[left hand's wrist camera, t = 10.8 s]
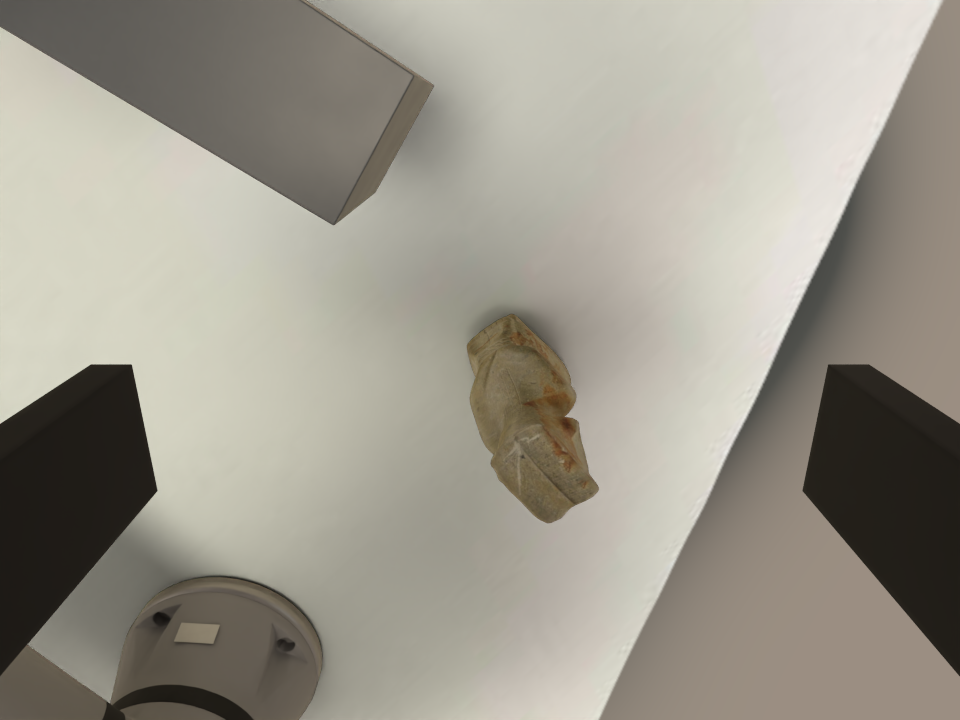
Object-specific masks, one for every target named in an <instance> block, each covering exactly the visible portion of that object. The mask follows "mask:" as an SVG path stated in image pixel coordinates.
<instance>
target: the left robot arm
mask: <svg viewBox="0 0 960 720" xmlns="http://www.w3.org/2000/svg"><path fill="white" fill-rule="evenodd" d="M156 492H157V486H156V481H155V476H154V471H153V467H152V462H151V457H150V452H149V447H148V442H147V437H146V432H145V427H144V422H143V418H142V413H141V408H140V403H139V398H138V393H137V388H136V383H135V378H134V373H133V368H132V365H90V366H88V367H87V368H85V369H84V370H82V371H80V372H79V373H77V374H76V375H74V376H73V377H71V378H70V379H68V380H67V381H65V382H64V383H62V384H61V385H59V386H58V387H56V388H54V389H53V390H51V391H50V392H48V393H47V394H45V395H44V396H42V397H41V398H39V399H38V400H36V401H35V402H33V403H31V404H30V405H28V406H27V407H25V408H24V409H22V410H21V411H19V412H18V413H16V414H15V415H13V416H12V417H10V418H9V419H7V420H5V421H4V422H2V423H1V424H0V720H299V719H300V717H301V716H302V714H303V713H304V712H305V710H306V709H307V707H308V705H309V703H310V702H311V700H312V698H313V696H314V693H315V690H316V687H317V683H318V680H319V676H320V673H321V667H322V651H321V646H320V643H319V640H318V637H317V635H316V633H315V630H314V629H313V627H312V625H311V624H310V622H309V621H308V620H307V618H306V617H305V616H304V615H303V614H302V613H301V612H300V610H299V609H297V608H296V607H295V606H294V605H293V604H292V603H290V602H289V601H288V600H286V599H285V598H283V597H282V596H280V595H279V594H277V593H275V592H273V591H271V590H269V589H267V588H265V587H262V586H260V585H257V584H254V583H251V582H248V581H244V580H239V579H233V578H224V577H206V578H197V579H191V580H187V581H183V582H180V583H178V584H175V585H173V586H170V587H168V588H166V589H165V590H163V591H161V592H160V593H159V594H157V595H156V596H154V597H153V598H152V599H151V600H150V601H149V602H148V603H147V604H146V606H145V607H144V608H143V610H142V611H141V613H140V614H139V616H138V617H137V618H136V620H135V621H134V623H133V625H132V626H131V628H130V630H129V632H128V634H127V637H126V640H125V642H124V645H123V649H122V654H121V658H120V662H119V667H118V671H117V676H116V680H115V684H114V689H113V693H112V698H111V702H110V703H108V702H107V701H106V700H104V699H103V698H101V697H100V696H99V695H97V694H96V693H94V692H93V691H91V690H90V689H88V688H87V687H86V686H84V685H83V684H81V683H80V682H78V681H77V680H76V679H74V678H73V677H71V676H70V675H69V674H67V673H66V672H64V671H63V670H62V669H60V668H59V667H57V666H56V665H55V664H53V663H52V662H50V661H49V660H48V659H46V658H45V657H43V656H42V655H41V654H39V653H38V652H36V651H35V650H34V649H32V648H31V647H29V646H28V645H27V644H28V643H29V642H30V641H31V639H32V638H33V637H34V636H35V635H36V633H37V632H38V631H39V630H40V629H41V628H42V626H43V625H44V624H45V623H46V622H47V621H48V619H49V618H50V617H51V616H52V615H53V613H54V612H55V611H56V610H57V609H58V608H59V606H60V605H61V604H62V603H63V602H64V600H65V599H66V598H67V597H68V596H69V595H70V593H71V592H72V591H73V590H74V589H75V587H76V586H77V585H78V584H79V583H80V582H81V580H82V579H83V578H84V577H85V576H86V575H87V573H88V572H89V571H90V570H91V569H92V567H93V566H94V565H95V564H96V563H97V562H98V560H99V559H100V558H101V557H102V556H103V554H104V553H105V552H106V551H107V550H108V549H109V547H110V546H111V545H112V544H113V543H114V542H115V540H116V539H117V538H118V537H119V536H120V534H121V533H122V532H123V531H124V530H125V529H126V527H127V526H128V525H129V524H130V523H131V521H132V520H133V519H134V518H135V517H136V516H137V514H138V513H139V512H140V511H141V510H142V508H143V507H144V506H145V505H146V504H147V503H148V501H149V500H150V499H151V498H152V497H153V496H154V494H155V493H156ZM803 492H804V493H805V494H806V496H807V497H808V498H809V499H810V500H811V501H812V503H813V504H814V505H815V506H816V507H817V508H818V510H819V511H820V512H821V513H822V514H823V516H824V517H825V518H826V519H827V520H828V521H829V523H830V524H831V525H832V526H833V527H834V529H835V530H836V531H837V532H838V533H839V534H840V536H841V537H842V538H843V539H844V540H845V542H846V543H847V544H848V545H849V546H850V547H851V549H852V550H853V551H854V552H855V553H856V554H857V556H858V557H859V558H860V559H861V560H862V562H863V563H864V564H865V565H866V566H867V567H868V569H869V570H870V571H871V572H872V573H873V574H874V576H875V577H876V578H877V579H878V580H879V582H880V583H881V584H882V585H883V586H884V587H885V589H886V590H887V591H888V592H889V593H890V595H891V596H892V597H893V598H894V599H895V600H896V602H897V603H898V604H899V605H900V606H901V608H902V609H903V610H904V611H905V612H906V613H907V615H908V616H909V617H910V618H911V619H912V620H913V622H914V623H915V624H916V625H917V626H918V628H919V629H920V630H921V631H922V632H923V633H924V635H925V636H926V637H927V638H928V639H929V641H930V642H931V643H932V644H933V645H934V646H935V648H936V649H937V650H938V651H939V652H940V654H941V655H942V656H943V657H944V658H945V659H946V661H947V662H948V663H949V664H950V665H951V666H952V668H953V669H954V670H955V671H956V672H957V674H958V675H959V676H960V424H959V423H958V422H956V421H955V420H953V419H951V418H950V417H948V416H947V415H945V414H944V413H942V412H941V411H939V410H938V409H936V408H935V407H933V406H932V405H930V404H929V403H927V402H925V401H924V400H922V399H921V398H919V397H918V396H916V395H915V394H913V393H912V392H910V391H909V390H907V389H906V388H904V387H902V386H901V385H899V384H898V383H896V382H895V381H893V380H892V379H890V378H889V377H887V376H886V375H884V374H883V373H881V372H880V371H878V370H876V369H875V368H873V367H872V366H870V365H828V368H827V373H826V378H825V383H824V388H823V393H822V398H821V403H820V408H819V413H818V418H817V422H816V427H815V432H814V437H813V442H812V447H811V452H810V457H809V462H808V467H807V471H806V476H805V481H804V486H803Z"/></svg>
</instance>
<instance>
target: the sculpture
mask: <svg viewBox="0 0 960 720" xmlns="http://www.w3.org/2000/svg"><path fill="white" fill-rule="evenodd" d="M467 352H468V356H469V360H470V363H471V367H472V370H473V372H474V375H475V377H476V378H475V381H474V384H473V387H472V390H471V394H470V404H471V408H472V411H473V414H474V417H475V420H476V423H477V426H478V430H479V433H480V435H481V438H482V440H483V442H484V444H485V446H486V447H487V449H488V450H489V451H490V452H491V453H493V454H494V456H493V458H492V460H491V466H492V467H493V468H494V470H495V471H496V473H497V476H498V479H499V481H501V482H502V483H503V484H504V485H505V486H506V487H507V488H508V490H509V491H510V492H511V493H512V494H513V495H514V496H515V497H516V498H518V499H519V500H520V501H521V502H522V503H523V504H524V506H525V507H526V508H527V509H528V510H529V511H530V512H531V513H532V514H533V515H534V516H535V517H537V518H538V519H539V520H541V521H543V522H546V523H552V522H554V521H556V520H559V519H561V518H562V517H563V516H564V515H565V513H566V512H567V511H568V510H569V509H570V508H571V507H573V506H575V505H577V504H579V503H582V502H584V501H586V500H588V499H590V498H591V497H593V496H594V495H595V494H596V493H597V492H598V490H599V488H598V485H597V484H596V482H595V481H594V480H593V478H592V477H591V476H590V474H589V471H588V465H587V461H586V456H585V452H584V449H583V445H582V442H581V436H580V431H579V423H578V421H577V420H575V419H573V418H568V417H565V416H566V415H567V414H568V413H569V411H570V410H571V409H572V407H573V406H574V403H575V401H576V393H575V390H574V389H573V388H572V386H571V379H570V375H569V373H568V371H567V369H566V367H565V365H564V364H563V362H562V361H561V360H560V359H559V357H558V356H557V355H556V354H555V353H554V352H553V351H552V350H551V349H550V348H549V347H548V346H547V345H546V344H545V343H544V342H543V341H542V340H541V339H540V338H539V337H538V336H537V335H535V334H534V333H533V332H532V331H531V330H530V329H529V328H528V327H527V326H526V325H525V324H524V323H523V322H522V321H521V320H520V319H519V318H518V317H517V316H516V315H514V314H510V315H508V316H506V317H503V318H501V319H499V320H497V321H496V322H494V323H493V324H491V325H490V326H488V327H487V328H485V329H484V330H482V331H481V332H480V333H478V334H477V335H476V336H475V337H474V338H473V339H472V340H471V341H470V342H469V343H468V345H467Z"/></svg>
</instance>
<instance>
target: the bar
mask: <svg viewBox="0 0 960 720" xmlns="http://www.w3.org/2000/svg"><path fill="white" fill-rule="evenodd" d="M0 27H1V28H3V29H5V30H6V31H8V32H10V33H12V34H13V35H15V36H17V37H18V38H20V39H22V40H23V41H25V42H27V43H28V44H30V45H32V46H33V47H35V48H37V49H38V50H40V51H42V52H43V53H45V54H47V55H48V56H50V57H52V58H53V59H55V60H57V61H58V62H60V63H62V64H64V65H65V66H67V67H69V68H70V69H72V70H74V71H75V72H77V73H79V74H80V75H82V76H84V77H85V78H87V79H89V80H90V81H92V82H94V83H95V84H97V85H99V86H100V87H102V88H104V89H105V90H107V91H109V92H110V93H112V94H114V95H116V96H117V97H119V98H121V99H122V100H124V101H126V102H127V103H129V104H131V105H132V106H134V107H136V108H137V109H139V110H141V111H142V112H144V113H146V114H147V115H149V116H151V117H152V118H154V119H156V120H157V121H159V122H161V123H162V124H164V125H166V126H168V127H169V128H171V129H173V130H174V131H176V132H178V133H179V134H181V135H183V136H184V137H186V138H188V139H189V140H191V141H193V142H194V143H196V144H198V145H199V146H201V147H203V148H204V149H206V150H208V151H209V152H211V153H213V154H214V155H216V156H218V157H220V158H221V159H223V160H225V161H226V162H228V163H230V164H231V165H233V166H235V167H236V168H238V169H240V170H241V171H243V172H245V173H246V174H248V175H250V176H251V177H253V178H255V179H256V180H258V181H260V182H261V183H263V184H265V185H266V186H268V187H270V188H272V189H273V190H275V191H277V192H278V193H280V194H282V195H283V196H285V197H287V198H288V199H290V200H292V201H293V202H295V203H297V204H298V205H300V206H302V207H303V208H305V209H307V210H308V211H310V212H312V213H313V214H315V215H317V216H318V217H320V218H322V219H324V220H325V221H327V222H329V223H330V224H332V225H335V224H336V223H338V222H339V221H340V220H341V219H343V218H344V217H345V216H346V215H348V214H349V213H350V212H351V211H353V210H354V209H355V208H356V207H358V206H359V205H360V204H361V203H363V202H364V201H365V200H366V199H368V198H369V197H370V196H371V195H373V194H374V193H375V192H376V191H377V189H378V187H379V185H380V183H381V181H382V180H383V178H384V176H385V174H386V172H387V171H388V169H389V167H390V165H391V163H392V161H393V160H394V158H395V156H396V154H397V152H398V151H399V149H400V147H401V145H402V143H403V141H404V140H405V138H406V136H407V134H408V132H409V131H410V129H411V127H412V125H413V123H414V121H415V120H416V118H417V116H418V114H419V112H420V111H421V109H422V107H423V105H424V103H425V101H426V100H427V98H428V96H429V94H430V92H431V91H432V89H433V87H434V85H433V84H431V83H430V82H428V81H427V80H425V79H424V78H422V77H421V76H419V75H418V74H416V73H415V72H413V71H412V70H410V69H409V68H407V67H406V66H404V65H403V64H401V63H400V62H398V61H397V60H395V59H394V58H392V57H391V56H389V55H388V54H386V53H385V52H383V51H382V50H380V49H379V48H377V47H376V46H374V45H373V44H371V43H370V42H368V41H367V40H365V39H364V38H362V37H361V36H359V35H358V34H356V33H355V32H353V31H352V30H350V29H348V28H347V27H345V26H344V25H342V24H341V23H339V22H338V21H336V20H335V19H333V18H332V17H330V16H329V15H327V14H326V13H324V12H323V11H321V10H320V9H318V8H317V7H315V6H314V5H312V4H311V3H309V2H308V1H306V0H0Z"/></svg>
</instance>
